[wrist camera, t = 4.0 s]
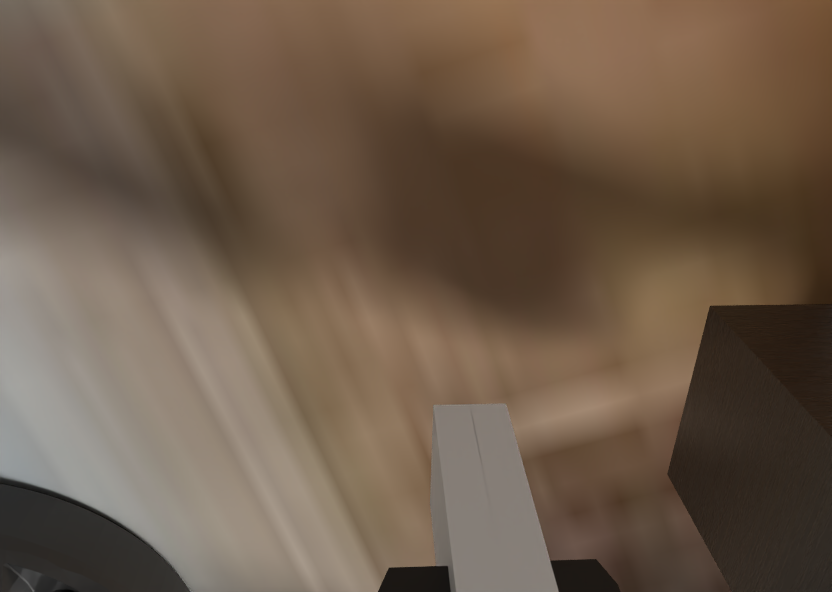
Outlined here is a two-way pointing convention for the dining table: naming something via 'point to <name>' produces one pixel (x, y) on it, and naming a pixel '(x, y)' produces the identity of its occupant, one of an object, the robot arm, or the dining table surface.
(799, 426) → the shaft
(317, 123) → the dining table surface
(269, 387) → the dining table surface
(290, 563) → the dining table surface
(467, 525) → the robot arm
